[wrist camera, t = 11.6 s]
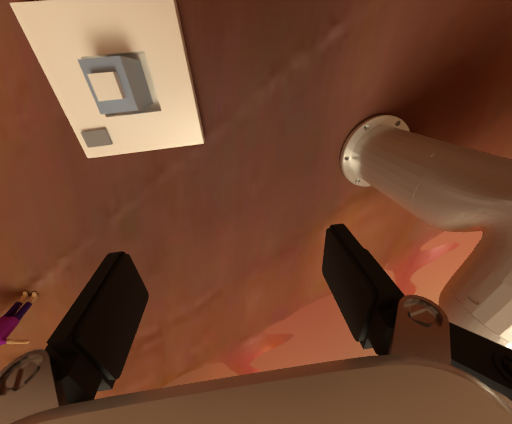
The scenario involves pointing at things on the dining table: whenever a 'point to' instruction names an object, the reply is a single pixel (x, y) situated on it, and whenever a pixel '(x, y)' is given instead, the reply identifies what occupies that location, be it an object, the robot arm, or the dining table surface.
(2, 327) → the toy
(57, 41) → the socket plate
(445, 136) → the dining table surface
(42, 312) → the dining table surface
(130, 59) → the plug
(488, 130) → the dining table surface
